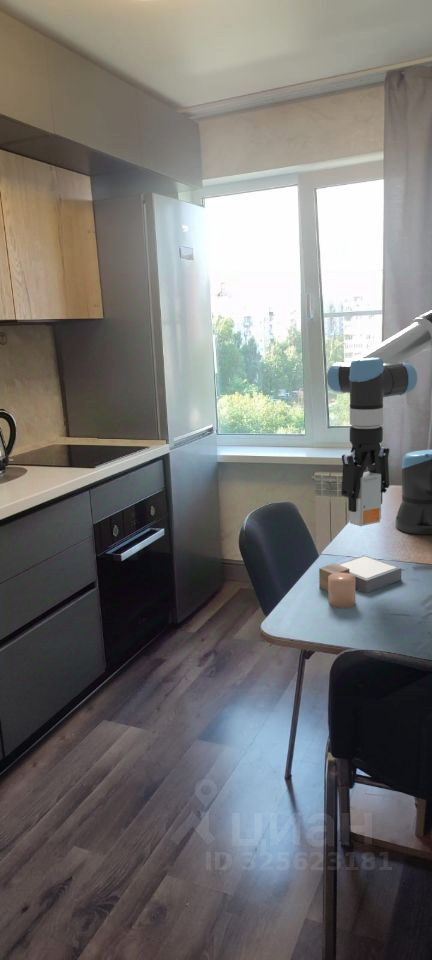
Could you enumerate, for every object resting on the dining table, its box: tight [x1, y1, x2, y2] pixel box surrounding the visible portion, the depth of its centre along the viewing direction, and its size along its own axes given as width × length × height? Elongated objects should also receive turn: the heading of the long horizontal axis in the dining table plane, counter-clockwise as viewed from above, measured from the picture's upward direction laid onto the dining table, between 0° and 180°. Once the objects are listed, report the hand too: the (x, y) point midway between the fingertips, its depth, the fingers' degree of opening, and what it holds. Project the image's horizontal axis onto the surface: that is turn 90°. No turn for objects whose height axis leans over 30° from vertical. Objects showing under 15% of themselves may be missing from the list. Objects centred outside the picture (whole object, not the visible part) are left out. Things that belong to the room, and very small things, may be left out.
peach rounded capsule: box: [327, 573, 356, 609], centre depth 152 cm, size 6×6×6 cm
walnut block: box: [318, 563, 350, 592], centre depth 160 cm, size 5×5×5 cm
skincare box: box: [353, 471, 381, 527], centre depth 160 cm, size 6×4×12 cm
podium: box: [337, 554, 402, 594], centre depth 164 cm, size 12×12×3 cm
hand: (365, 520), depth 161 cm, fingers closed on skincare box, 6 cm apart
